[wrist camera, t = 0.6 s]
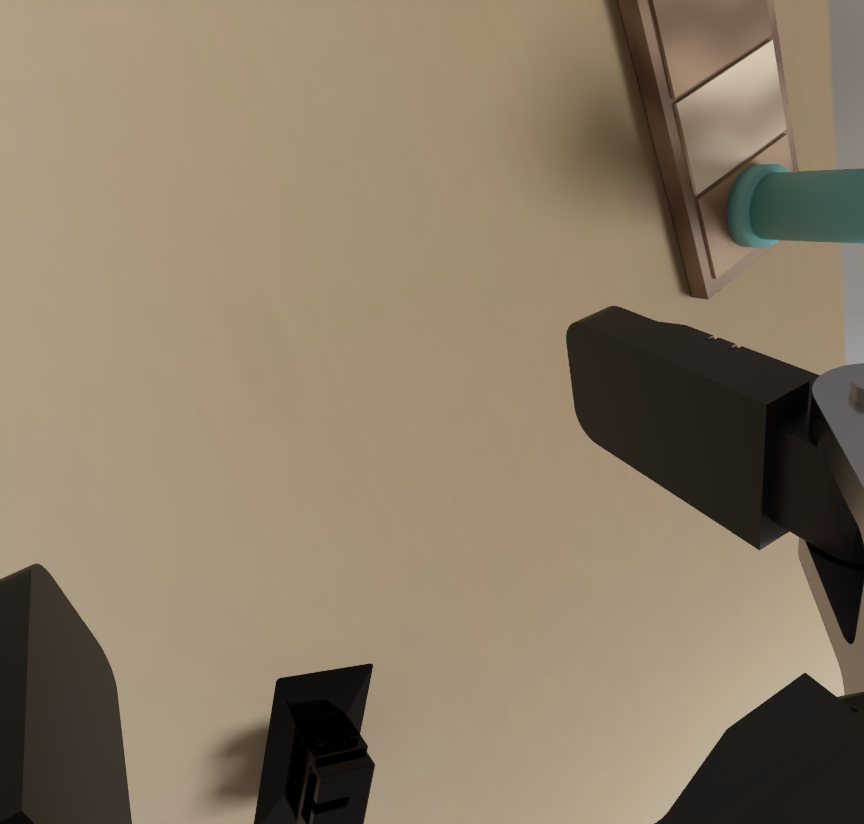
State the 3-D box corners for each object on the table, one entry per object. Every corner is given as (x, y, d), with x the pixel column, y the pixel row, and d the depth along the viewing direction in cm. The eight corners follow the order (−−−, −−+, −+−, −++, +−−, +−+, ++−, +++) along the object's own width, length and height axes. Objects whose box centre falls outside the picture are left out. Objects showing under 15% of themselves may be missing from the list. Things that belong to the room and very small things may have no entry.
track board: (582, -142, 32) (603, -156, 31) (719, -207, 35) (744, -222, 34) (692, 297, 43) (711, 299, 42) (788, 219, 46) (808, 219, 45)
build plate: (261, 644, 34) (293, 699, 30) (389, 629, 38) (432, 675, 34) (229, 859, 36) (255, 935, 32) (353, 823, 40) (390, 887, 36)
